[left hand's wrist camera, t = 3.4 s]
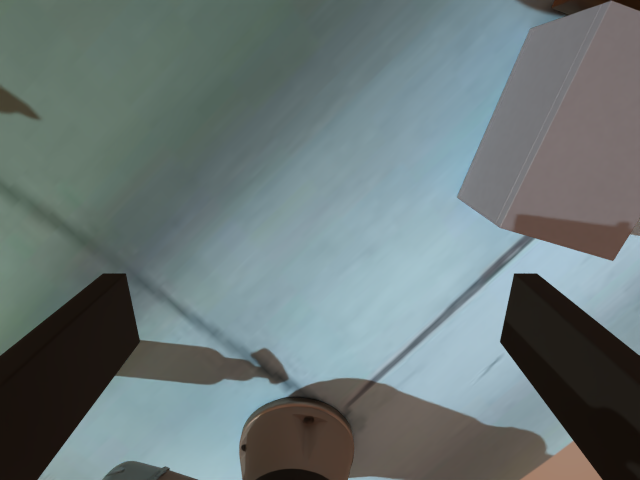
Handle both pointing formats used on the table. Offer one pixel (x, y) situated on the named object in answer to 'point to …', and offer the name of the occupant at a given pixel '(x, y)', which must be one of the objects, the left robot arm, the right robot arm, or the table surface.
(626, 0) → the drawer
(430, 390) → the table surface
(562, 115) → the cabinet
